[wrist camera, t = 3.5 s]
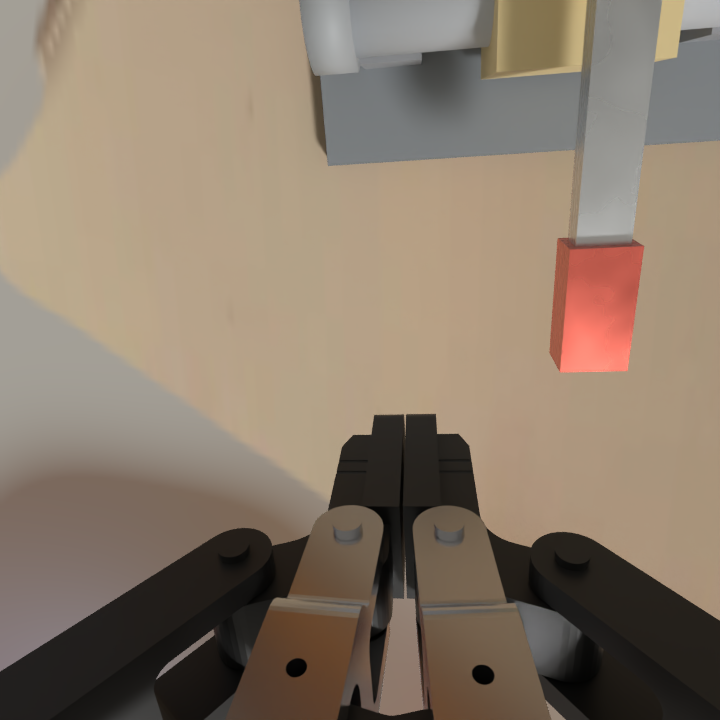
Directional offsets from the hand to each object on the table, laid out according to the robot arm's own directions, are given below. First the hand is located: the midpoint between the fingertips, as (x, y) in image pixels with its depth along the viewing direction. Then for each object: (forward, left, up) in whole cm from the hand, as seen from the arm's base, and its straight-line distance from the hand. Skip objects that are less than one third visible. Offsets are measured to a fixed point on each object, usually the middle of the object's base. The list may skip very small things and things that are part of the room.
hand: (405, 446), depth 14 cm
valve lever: (-5, +7, -11) cm, 15 cm away
